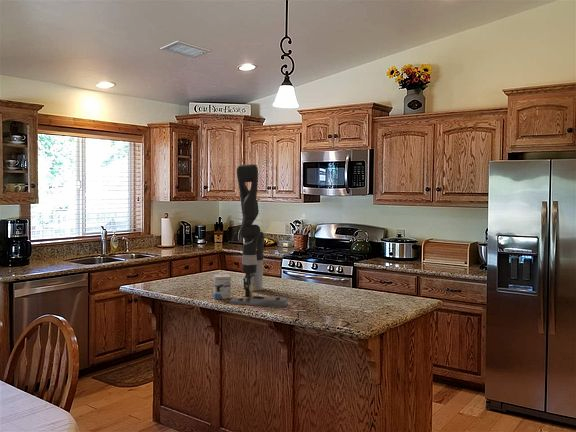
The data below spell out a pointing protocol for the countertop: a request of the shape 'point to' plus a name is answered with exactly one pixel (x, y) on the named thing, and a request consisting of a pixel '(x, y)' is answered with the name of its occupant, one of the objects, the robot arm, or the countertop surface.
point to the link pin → (250, 291)
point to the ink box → (222, 287)
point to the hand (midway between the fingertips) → (248, 295)
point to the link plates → (261, 301)
